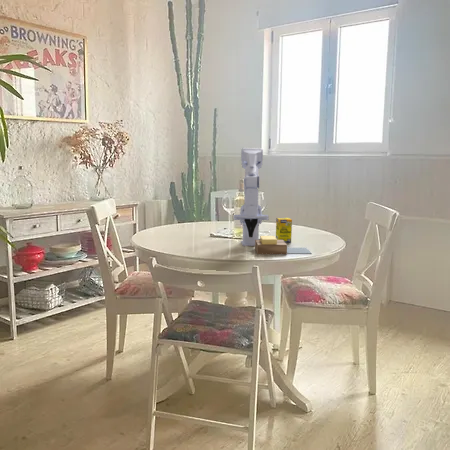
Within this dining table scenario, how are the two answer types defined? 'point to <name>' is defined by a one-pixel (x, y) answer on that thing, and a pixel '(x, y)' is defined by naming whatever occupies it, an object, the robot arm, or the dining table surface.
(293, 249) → the mat
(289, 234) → the supplement box
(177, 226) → the dining table surface
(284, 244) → the brown wooden block
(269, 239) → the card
